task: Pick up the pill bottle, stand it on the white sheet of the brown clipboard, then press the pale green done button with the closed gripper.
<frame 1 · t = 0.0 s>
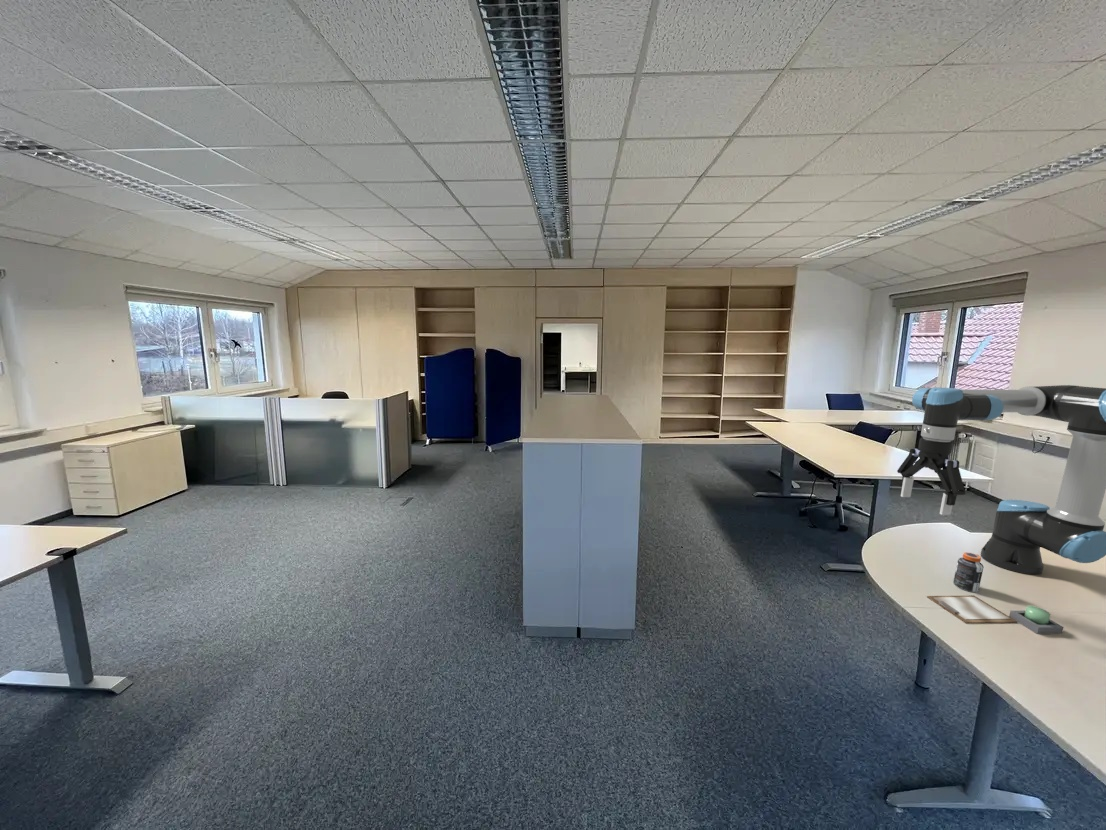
hand: (924, 505, 130), 28 cm above the table, fingers open, 13 cm apart
clipboard: (969, 609, 124), on the table
pill bottle: (965, 587, 135), on the table
done button: (1037, 615, 116), point 3 cm above the table, slide at 0.0 cm
button frame: (1034, 624, 117), on the table
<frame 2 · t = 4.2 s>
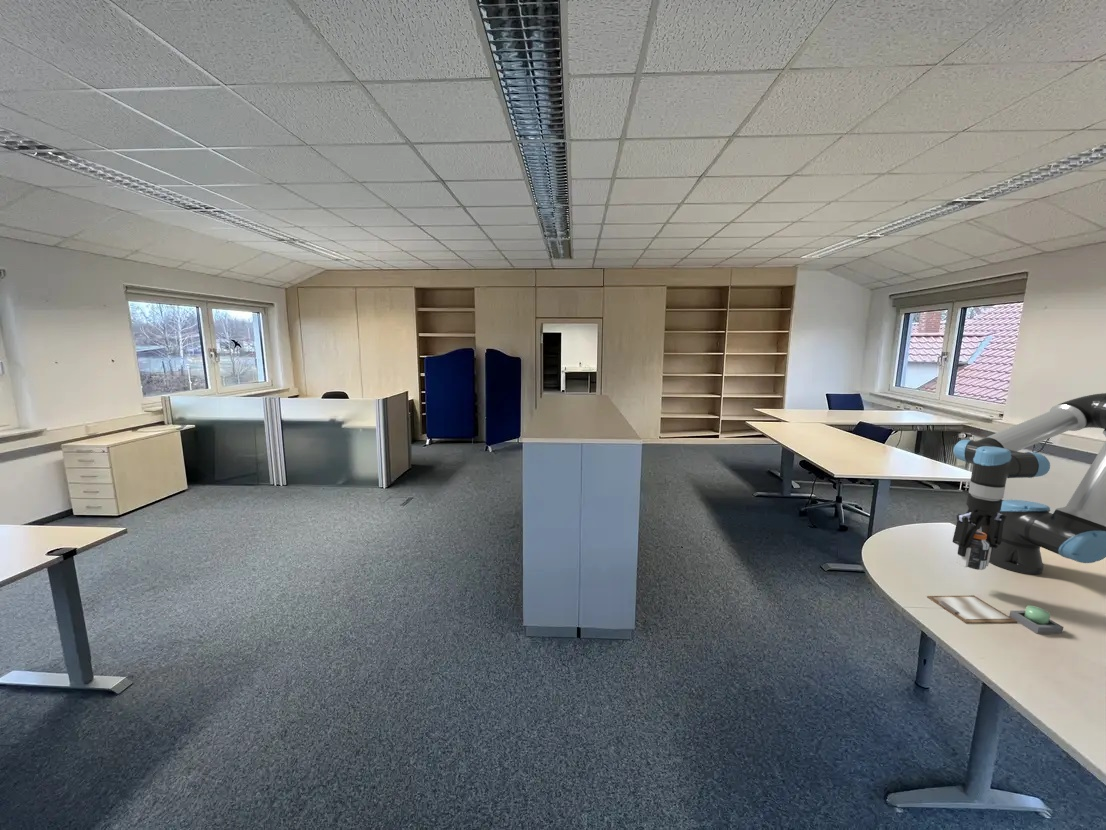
hand: (972, 564, 133), 8 cm above the table, fingers closed on pill bottle, 6 cm apart
pill bottle: (972, 566, 133), point 7 cm above the table, touching gripper
everything else where it was.
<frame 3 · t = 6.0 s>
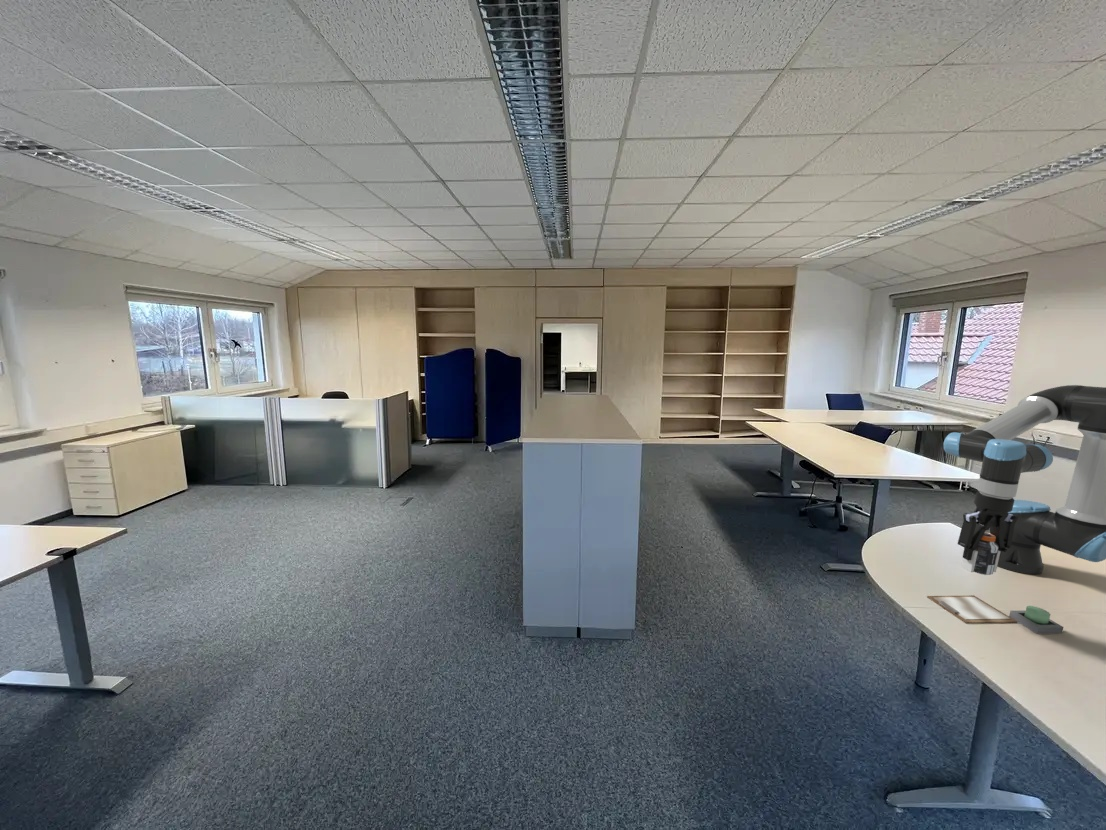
hand: (978, 569, 121), 13 cm above the table, fingers closed on pill bottle, 6 cm apart
pill bottle: (978, 570, 121), point 13 cm above the table, touching gripper
everything else where it was.
when the fingers open (2 cm above the table, at t = 8.2 s): pill bottle stays where it is, resting on clipboard.
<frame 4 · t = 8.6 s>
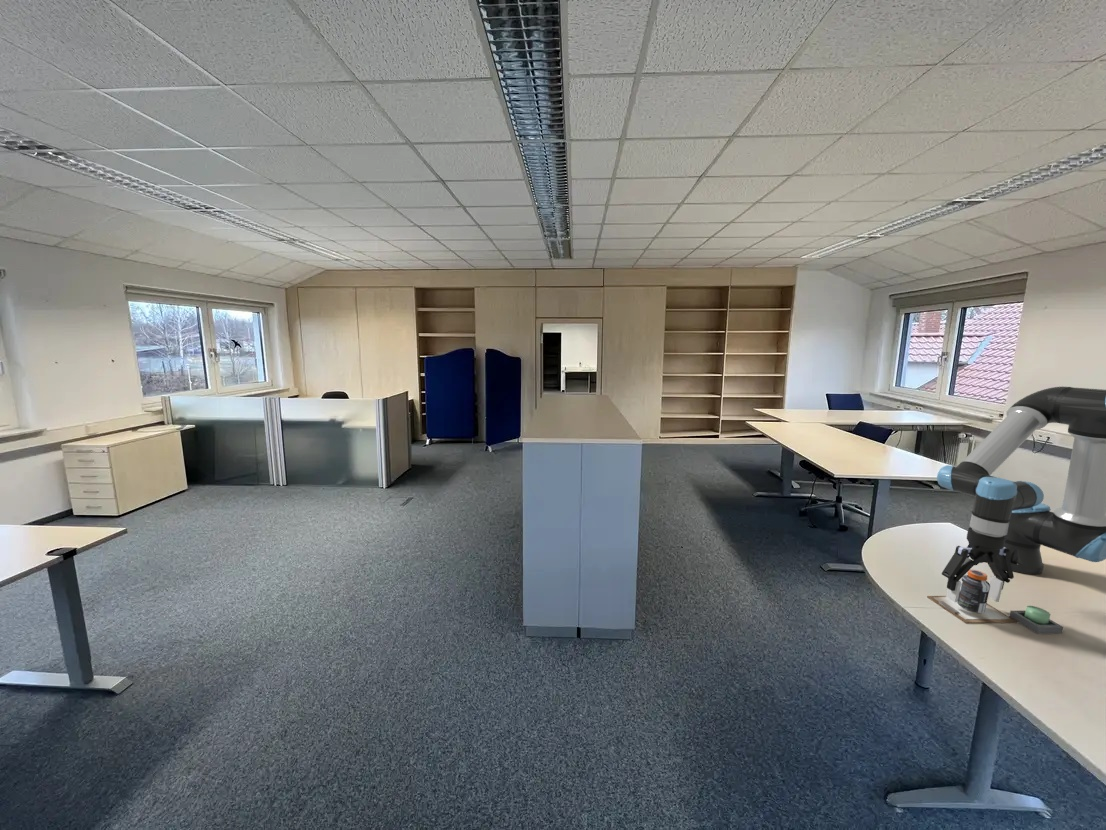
hand: (972, 599, 123), 3 cm above the table, fingers open, 12 cm apart
pill bottle: (970, 607, 124), resting on clipboard
everything else where it was.
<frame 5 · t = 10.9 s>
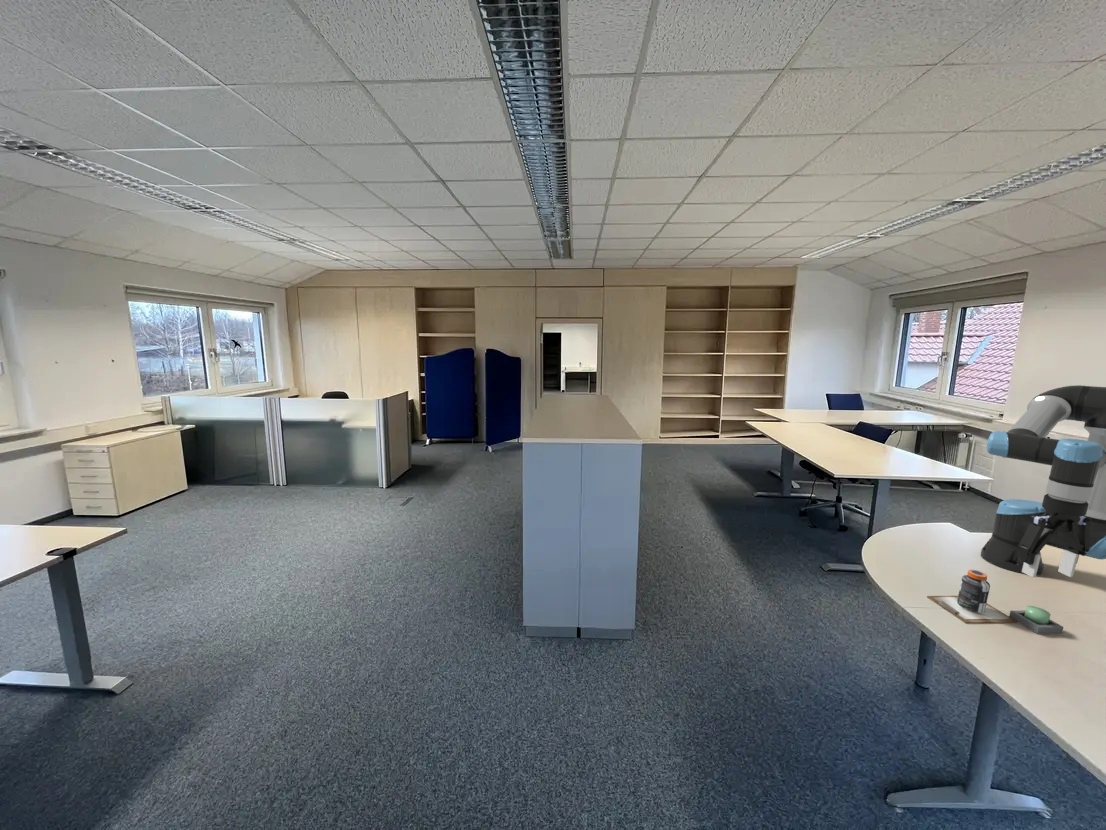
hand: (1046, 574, 114), 16 cm above the table, fingers open, 10 cm apart
nothing on the table moved.
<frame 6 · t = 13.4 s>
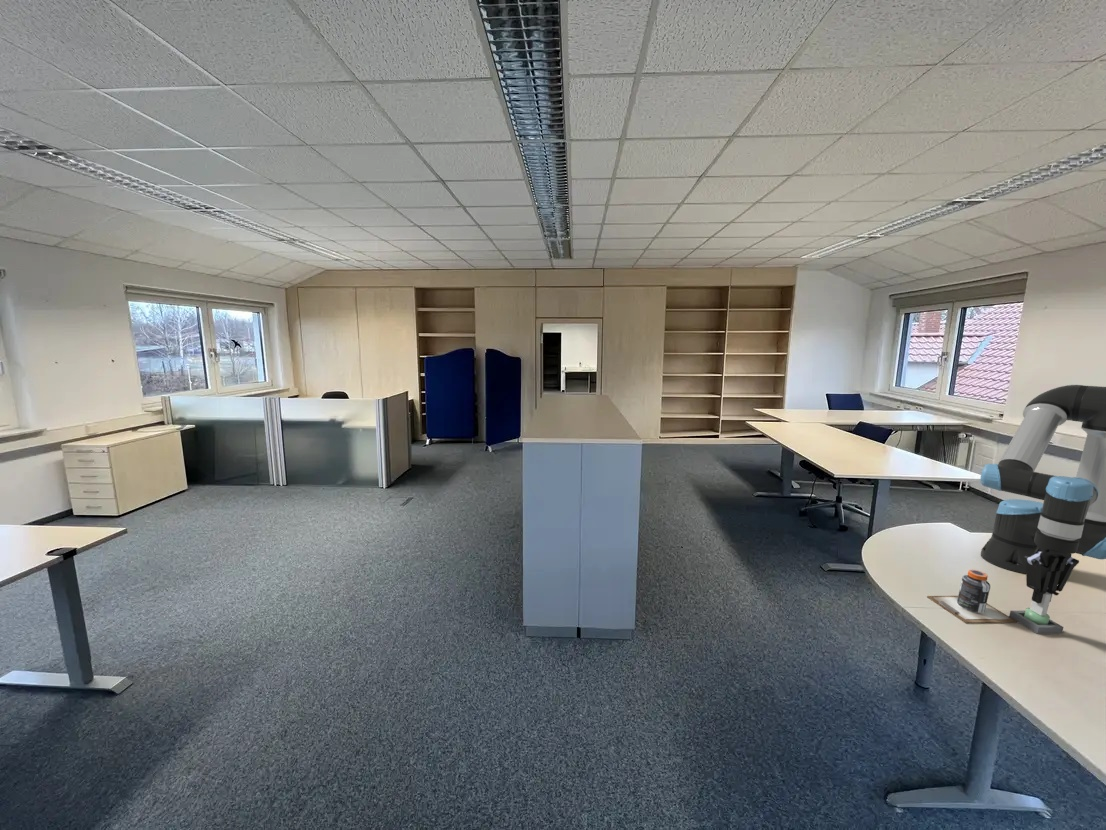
hand: (1037, 612, 116), 4 cm above the table, fingers closed
done button: (1036, 617, 117), point 2 cm above the table, slide at 0.8 cm
everything else where it was.
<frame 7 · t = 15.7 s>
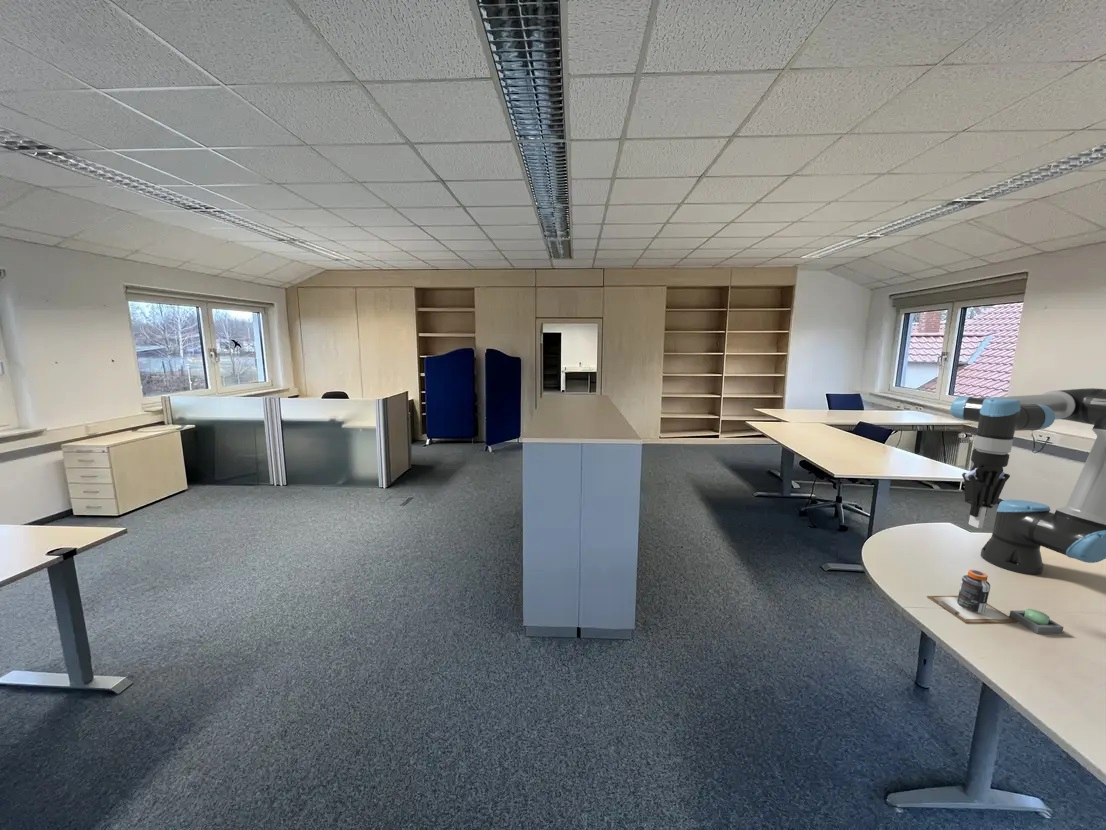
hand: (975, 526, 126), 23 cm above the table, fingers closed
nothing on the table moved.
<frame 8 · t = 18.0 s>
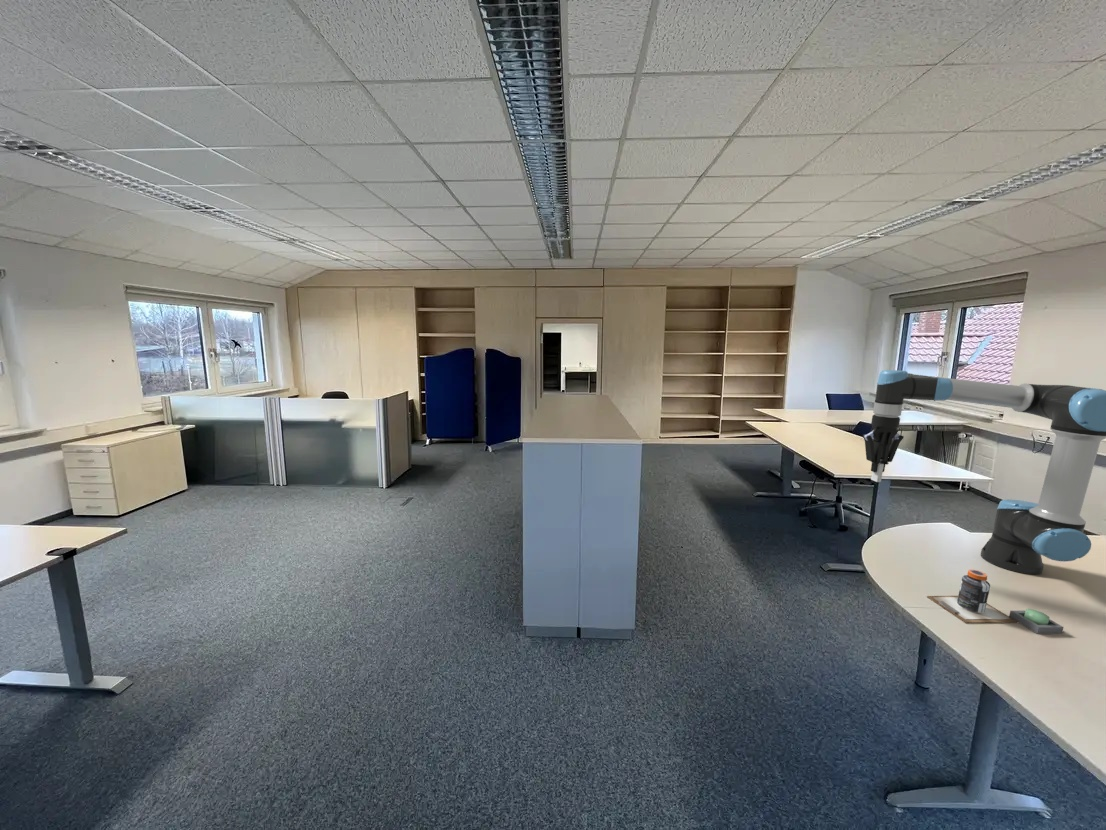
hand: (875, 480, 147), 29 cm above the table, fingers closed
nothing on the table moved.
at the end: pill bottle inside the target area on the clipboard (0.1 cm from its centre), point 0.4 cm above the clipboard's base; pill bottle tilted 0°; done button slide at 1.0 cm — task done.
